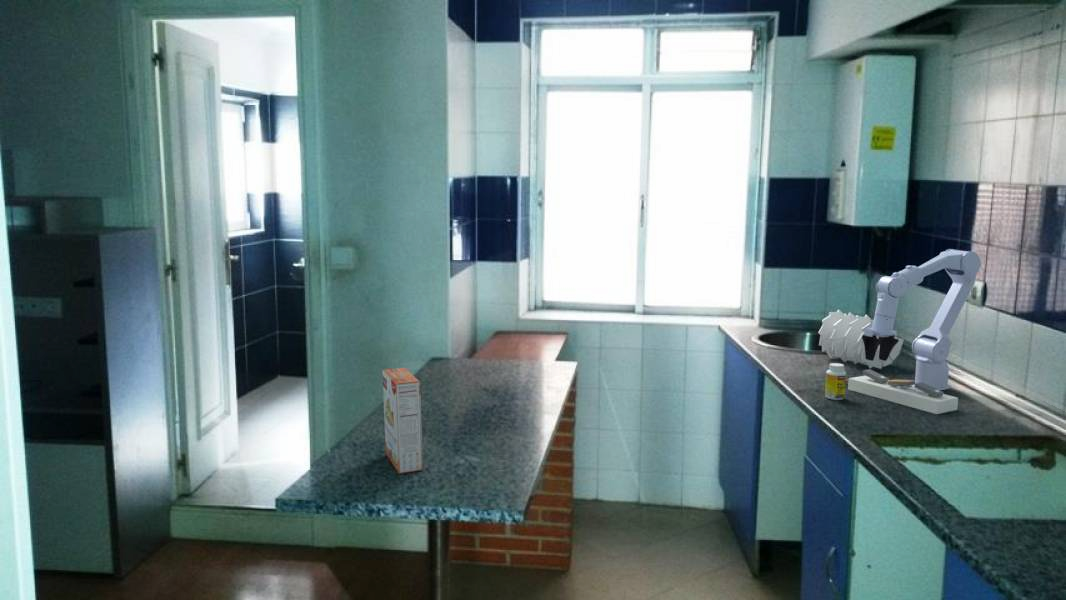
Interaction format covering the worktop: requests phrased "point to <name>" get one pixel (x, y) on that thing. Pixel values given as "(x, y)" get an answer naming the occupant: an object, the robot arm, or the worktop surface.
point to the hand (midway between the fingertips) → (876, 360)
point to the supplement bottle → (835, 382)
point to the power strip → (903, 395)
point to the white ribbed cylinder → (851, 339)
